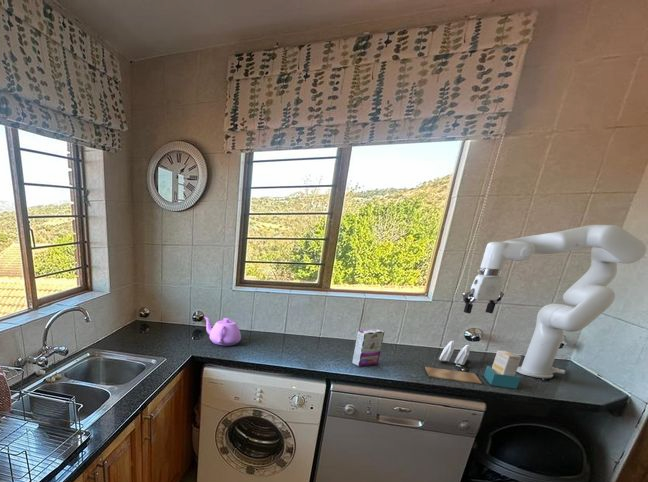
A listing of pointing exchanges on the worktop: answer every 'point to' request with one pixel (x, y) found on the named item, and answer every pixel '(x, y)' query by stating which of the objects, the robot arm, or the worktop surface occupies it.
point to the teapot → (224, 332)
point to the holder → (501, 379)
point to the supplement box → (506, 363)
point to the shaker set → (448, 353)
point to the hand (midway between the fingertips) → (477, 312)
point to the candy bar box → (368, 347)
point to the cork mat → (453, 375)
